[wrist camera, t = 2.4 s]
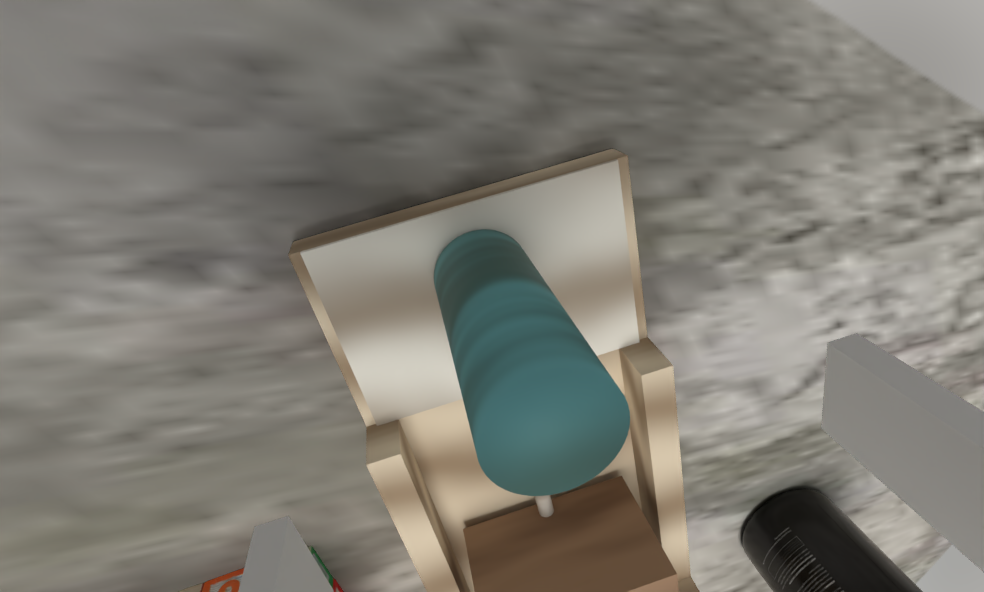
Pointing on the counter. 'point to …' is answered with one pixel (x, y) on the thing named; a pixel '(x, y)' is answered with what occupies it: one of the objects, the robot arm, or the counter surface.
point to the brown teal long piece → (541, 431)
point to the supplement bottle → (817, 548)
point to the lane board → (430, 368)
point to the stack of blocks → (227, 586)
